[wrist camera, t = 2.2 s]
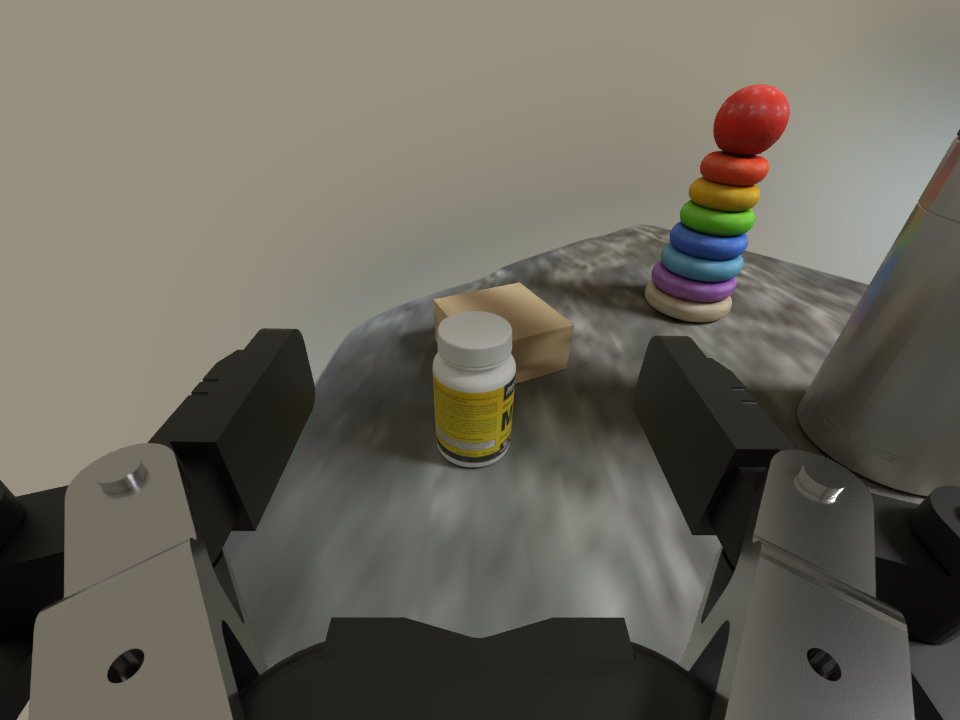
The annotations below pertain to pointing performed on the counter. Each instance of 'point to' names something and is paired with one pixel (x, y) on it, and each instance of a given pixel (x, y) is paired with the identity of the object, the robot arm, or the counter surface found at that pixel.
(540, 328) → the oak block
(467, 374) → the supplement bottle
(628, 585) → the counter surface
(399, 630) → the robot arm
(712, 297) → the stacking toy
